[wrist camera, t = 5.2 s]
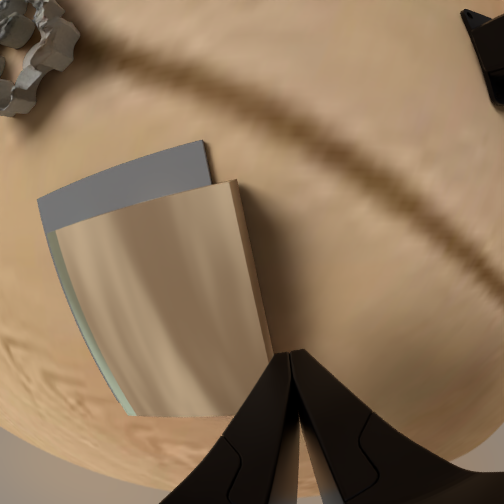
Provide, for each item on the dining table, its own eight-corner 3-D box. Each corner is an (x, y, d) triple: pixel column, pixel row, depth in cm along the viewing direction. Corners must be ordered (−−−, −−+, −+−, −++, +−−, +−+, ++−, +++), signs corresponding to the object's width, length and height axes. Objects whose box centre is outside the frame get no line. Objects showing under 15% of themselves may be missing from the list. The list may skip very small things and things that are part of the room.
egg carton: (95, 50, 10) (52, 26, 7) (14, 138, 12) (-32, 139, 8) (56, -22, 8) (26, -42, 4) (-10, 49, 9) (-43, 41, 5)
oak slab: (228, 182, 9) (46, 233, 10) (279, 410, 12) (127, 415, 12) (236, 179, 12) (83, 220, 12) (277, 370, 14) (144, 381, 15)
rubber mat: (203, 140, 12) (202, 139, 11) (263, 394, 15) (263, 398, 15) (40, 198, 12) (36, 199, 12) (120, 399, 16) (118, 402, 16)
